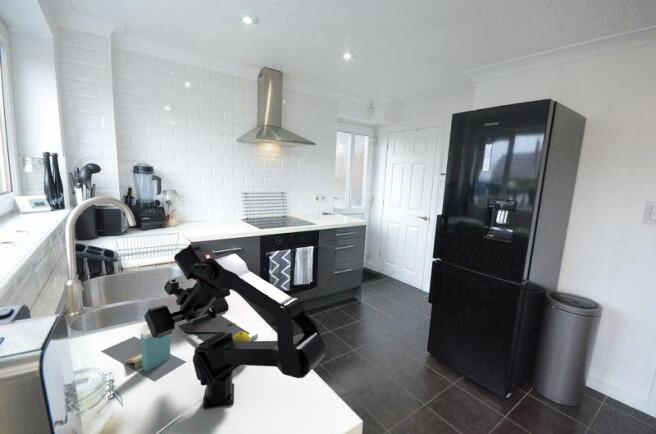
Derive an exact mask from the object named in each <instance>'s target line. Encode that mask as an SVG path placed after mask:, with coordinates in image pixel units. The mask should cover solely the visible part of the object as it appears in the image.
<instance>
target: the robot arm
mask: <svg viewBox="0 0 656 434" xmlns="http://www.w3.org/2000/svg"><path fill="white" fill-rule="evenodd" d="M203 252H204V251H203V250H202V249H201V246H200V245H199V243H198V242H194V243H189V244H188V246H186V247H185V248H182V249H181V250H179V251H178V252H177V253H176V254H175V255H174V256H173V260H174V261H175V263H176V265H177V266H178V268H179V269H180V272H182V273H183V275H181V276H180V275H179V276H176V277H173V278H171V279H168V280H167V281H166V282H165V285H164V288H163V289H164V292H166V294H167V295H168V296H172V295H174V296H175V297H176V300H175V303H176V305H177V306H179V310H177V311H173V312H170V310H169V307H168V305H165V304H164V305H160V306H159V305H158V306H156V307H151V308H148V310H147V311H146V313H145V314H144V320H145V322H146V325H147V327H148V330H150V332H151V334H152V337H155V338H158V339H159V338H162V337H164V336H166V335H169V334H170V335H172V333H173V331H174V330H175V328H176V324H179V323H181V322H184V321H187V323H188V322H192V321H193V320H194V321H193V325H194V326H196V325H199V324H201V323H204V322H206V321H209V320H212V319H214V318H217V317H220V316H221V315H224V314H227V312H229V304H228V301H227V300H226V298H227V297H229V296H231V291H233V292H236V294H238V295H240V296H241V297H243V298H244V299H246V301H248V302H250V303H251V304H253V305H255V307H257V308H259V309H260V310H261V311H263V312H265V313H266V314H268V315H269V316H271V317H272V318H273V320H274V322H275V325H276V327H277V329H276V335H277V337H276V339H277V340H251V341H235V340H234V338H233V337H232V332H229V333H224V332H220V333H218V334H217V335H215V336H213V337H211V338H209V339H208V340H206V341H204V342H202V343H200V344H199V347H198V346H196V348H194V352H193V353H194V354H193V356H192V362H193V367H194V370H195V375H196V379H197V380H198V381H200V385H201V386H206V388H205V391H204V392H205V393H204V398H203V404H202V408H203V409H204V410H205V409H211V408H212V409H213V408H217V407H222V406H224V407H225V406H229V405H233V404H234V403H235V383H234V382H233V371H234V370H236V369H237V368H240V367H241V366H248V367H249V366H250V367H253V366H255V367H272V368H273V367H275V368H277V369H278V370H279V371H280V372H281V373H282V375H284V376H288V377H292V378H295V379H304V378H305V377H306V376H308V374H309V373H310V372H312V370H313V369H314V368H315V367H316V366H317V365H318V364H319V363H320V361H321V360H323V359H324V357H325V355H326V352H327V351H326V349H327V348H326V344H325V342H324V340H323V339H322V336H321V333H320V330H319V328H318V325H317V323H316V322H315V321H314V320H313V319H312V318H311V317H310V316H309V315H308V314H307V313H306V311H305V308H304V306H303V303H302V301H301V300H300V299H298V298H297V297H292V296H290V295H288V294H287V293H285V292H284V291H282V290H280V289H279V288H277V287H275V286H274V285H273V284H271V283H269V282H268V281H266V280H264V279H262V278H261V277H259V276H258V275H256V274H254V273H253V272H252V271H250V270H249V268H248V265H247V263H246V261H244V260H243V259H242V258H241V257H240V256H239V255H237V254H236V253H235V252H227V253H223V254H220V255H216V256H215V257H211V258H209V259H207V257H206V256H205V254H204V253H203ZM197 279H198V280H197ZM196 280H197V281H196ZM294 323H295V324H296V325H297V326H298V327H299V328H300V329H301V331H302V333H298V334H296V335H294Z"/></svg>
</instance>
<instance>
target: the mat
mask: <svg viewBox="0 0 656 434" xmlns="http://www.w3.org/2000/svg"><path fill="white" fill-rule="evenodd" d="M101 352H102V353H103V354H105V355H107V356H109V357H110V358H112V359H114V360H116V361H118V362H119V363H121V364H123V365H124V366H127V367H128V368H130V369H132V370H133V371H135V372H136V373H138V374H141V375H142V376H144V377H146V378H147V379H149V380H151V381H152V382H157V380H158V381H159V380H160V379H161V378H163V377H164V376H166V375H167V374H170V373H171V372H173V371H174V370H177V368H179V367H181V366H183V365H184V364H186V363H187V361H186V360H184V359H182V358H180V357H178V356H175V355H174V354H171V353H170V359H168V360H166V361H165V362H163V363H161V364H159V365H158V366H156V367H154V368H152V369H151V370H149V371H145V370H143V369H142V367H140V368H138V369H136V368H135V362H133V363H128V364H127V363H126V361H127V360H129V359H131V358H133V357H135V356H137V355H139V354H141V353H142V351H141V338H139V337H136V336H132V337H130V338H127V339H124V340H123V341H120V342H119V343H118V342H117V343H116V344H114V345H112V346H109V347H106V348H105V349H103V350H101Z"/></svg>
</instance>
